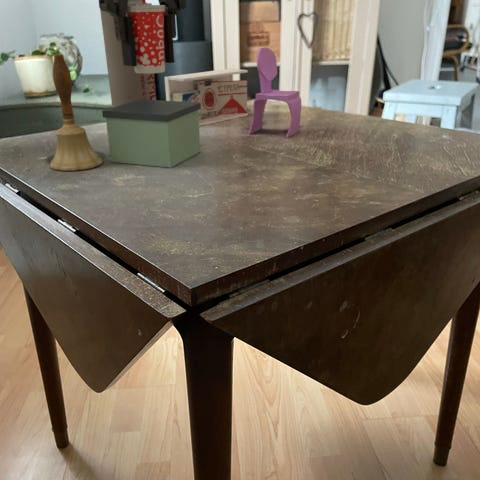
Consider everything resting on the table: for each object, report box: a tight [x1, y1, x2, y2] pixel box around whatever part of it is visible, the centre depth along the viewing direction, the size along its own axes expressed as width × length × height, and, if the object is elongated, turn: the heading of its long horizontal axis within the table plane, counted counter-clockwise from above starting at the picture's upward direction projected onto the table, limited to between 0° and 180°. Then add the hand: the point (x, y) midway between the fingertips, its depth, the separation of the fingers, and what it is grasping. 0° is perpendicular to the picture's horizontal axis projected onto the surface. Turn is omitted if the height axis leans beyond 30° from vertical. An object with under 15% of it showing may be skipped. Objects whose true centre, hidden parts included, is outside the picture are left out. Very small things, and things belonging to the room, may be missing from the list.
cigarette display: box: [164, 68, 249, 127], centre depth 116 cm, size 20×6×9 cm, turn 136°
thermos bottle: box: [99, 0, 157, 108], centre depth 94 cm, size 8×8×28 cm
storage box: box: [101, 99, 201, 169], centre depth 89 cm, size 12×12×8 cm
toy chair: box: [247, 46, 302, 139], centre depth 102 cm, size 8×9×15 cm
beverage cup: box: [126, 0, 166, 74], centre depth 81 cm, size 6×6×14 cm
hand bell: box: [49, 54, 103, 172], centre depth 83 cm, size 8×8×16 cm
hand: (149, 63), depth 84 cm, fingers closed on beverage cup, 6 cm apart
